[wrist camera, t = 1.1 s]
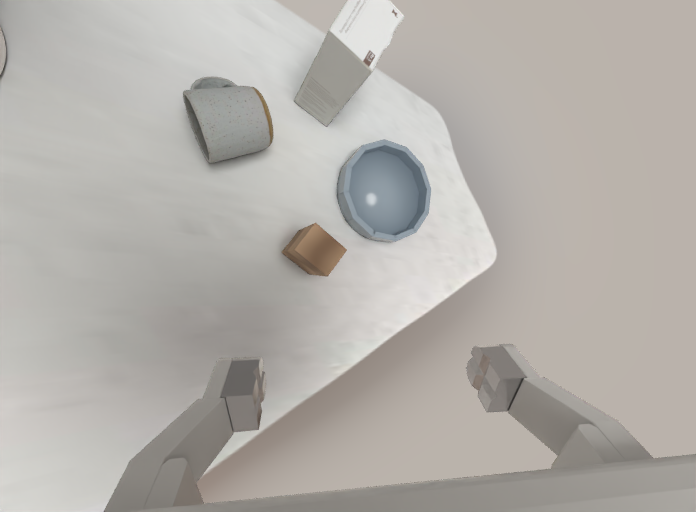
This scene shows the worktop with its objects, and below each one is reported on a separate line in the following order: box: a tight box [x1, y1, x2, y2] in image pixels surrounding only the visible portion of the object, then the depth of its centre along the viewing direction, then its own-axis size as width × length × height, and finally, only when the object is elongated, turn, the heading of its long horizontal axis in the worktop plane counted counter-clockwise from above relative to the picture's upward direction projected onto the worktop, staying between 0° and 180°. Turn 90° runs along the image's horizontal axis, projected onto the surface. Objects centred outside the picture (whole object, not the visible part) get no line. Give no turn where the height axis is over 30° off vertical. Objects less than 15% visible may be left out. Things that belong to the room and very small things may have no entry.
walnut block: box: [282, 223, 347, 276], centre depth 37 cm, size 5×4×8 cm
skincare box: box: [295, 0, 404, 126], centre depth 36 cm, size 8×6×15 cm
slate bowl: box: [337, 140, 431, 242], centre depth 45 cm, size 15×15×3 cm
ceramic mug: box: [183, 77, 273, 163], centre depth 34 cm, size 11×8×8 cm
